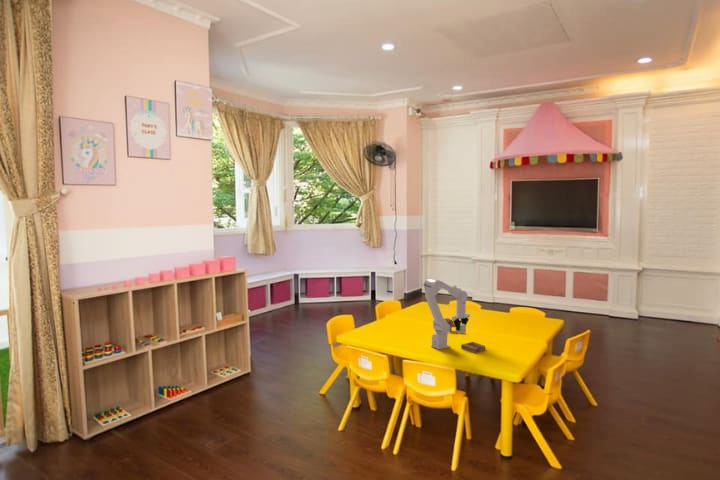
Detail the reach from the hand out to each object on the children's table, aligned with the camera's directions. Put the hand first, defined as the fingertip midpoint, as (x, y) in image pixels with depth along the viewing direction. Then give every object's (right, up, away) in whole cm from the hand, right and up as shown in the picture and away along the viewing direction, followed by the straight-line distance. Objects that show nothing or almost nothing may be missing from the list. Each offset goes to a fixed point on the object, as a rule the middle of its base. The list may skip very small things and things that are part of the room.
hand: (460, 329), depth 286 cm
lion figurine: (+1, -7, +25) cm, 26 cm away
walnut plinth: (+5, -10, -13) cm, 17 cm away
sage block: (0, -2, 0) cm, 2 cm away
